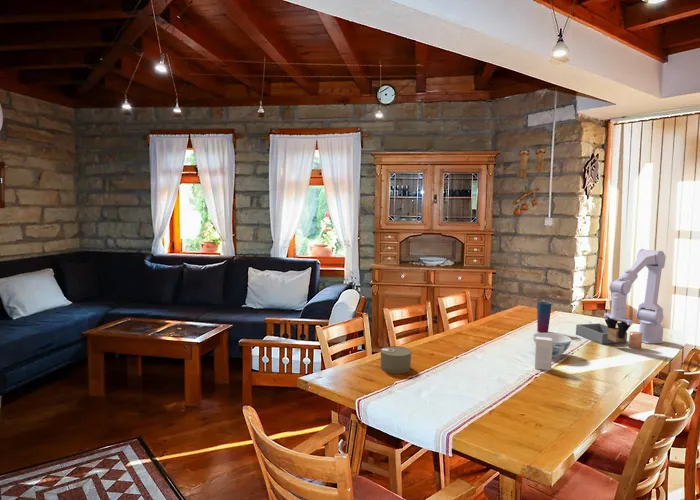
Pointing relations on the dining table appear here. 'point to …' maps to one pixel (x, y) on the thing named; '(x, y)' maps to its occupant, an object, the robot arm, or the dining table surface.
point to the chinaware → (556, 342)
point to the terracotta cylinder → (635, 340)
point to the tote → (596, 333)
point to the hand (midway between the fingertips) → (616, 336)
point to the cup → (543, 316)
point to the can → (395, 359)
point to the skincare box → (543, 353)
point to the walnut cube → (614, 335)
